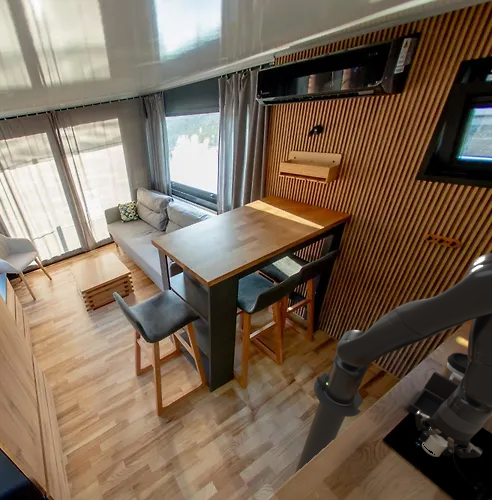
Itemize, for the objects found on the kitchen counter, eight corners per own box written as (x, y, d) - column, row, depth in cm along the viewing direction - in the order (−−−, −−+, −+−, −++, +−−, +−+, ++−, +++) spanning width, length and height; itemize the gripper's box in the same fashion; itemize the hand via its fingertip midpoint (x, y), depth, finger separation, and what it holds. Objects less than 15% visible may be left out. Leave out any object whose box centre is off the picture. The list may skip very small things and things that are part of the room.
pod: (419, 447, 82) (428, 437, 79) (425, 439, 84) (433, 429, 80) (436, 459, 79) (446, 449, 76) (442, 451, 80) (452, 441, 77)
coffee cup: (459, 401, 91) (480, 376, 83) (428, 382, 98) (445, 357, 90) (471, 389, 93) (493, 364, 86) (440, 371, 100) (457, 347, 93)
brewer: (452, 440, 82) (457, 434, 80) (406, 409, 91) (410, 404, 90) (465, 420, 86) (470, 415, 84) (419, 393, 95) (423, 387, 93)
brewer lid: (485, 400, 78) (493, 389, 79) (433, 372, 87) (441, 362, 88) (470, 415, 84) (478, 404, 85) (423, 387, 93) (431, 378, 94)
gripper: (418, 405, 76) (399, 432, 85) (492, 452, 65) (462, 478, 73) (429, 391, 79) (409, 419, 87) (503, 433, 67) (472, 461, 76)
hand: (433, 446), depth 80 cm, fingers closed on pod, 4 cm apart
